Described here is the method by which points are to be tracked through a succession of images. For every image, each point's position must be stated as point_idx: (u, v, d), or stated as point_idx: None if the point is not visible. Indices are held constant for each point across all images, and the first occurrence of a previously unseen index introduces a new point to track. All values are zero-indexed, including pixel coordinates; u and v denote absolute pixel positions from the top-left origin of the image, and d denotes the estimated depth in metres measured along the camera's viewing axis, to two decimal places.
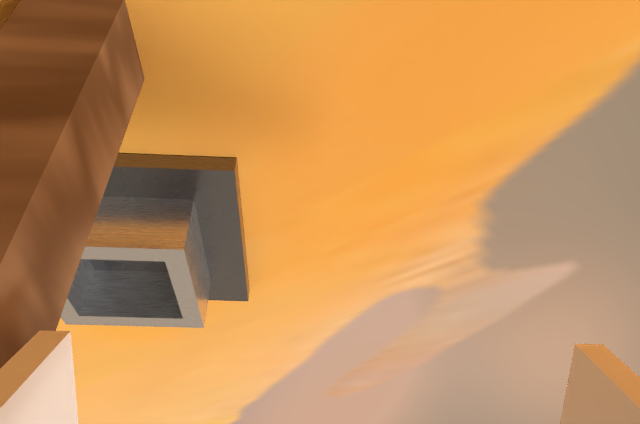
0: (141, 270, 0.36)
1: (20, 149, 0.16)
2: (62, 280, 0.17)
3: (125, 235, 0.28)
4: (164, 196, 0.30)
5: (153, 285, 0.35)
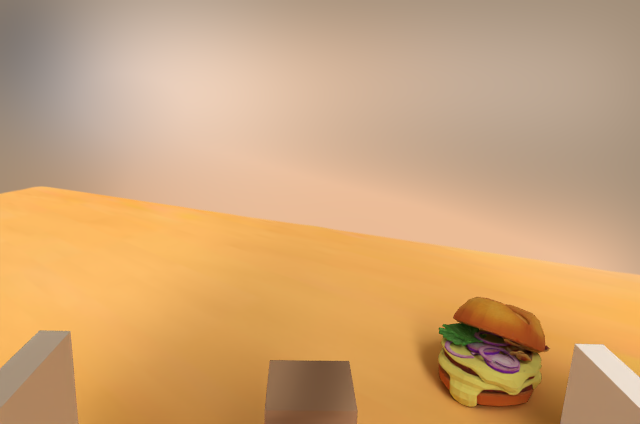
0: None
1: None
2: None
3: None
4: None
5: None
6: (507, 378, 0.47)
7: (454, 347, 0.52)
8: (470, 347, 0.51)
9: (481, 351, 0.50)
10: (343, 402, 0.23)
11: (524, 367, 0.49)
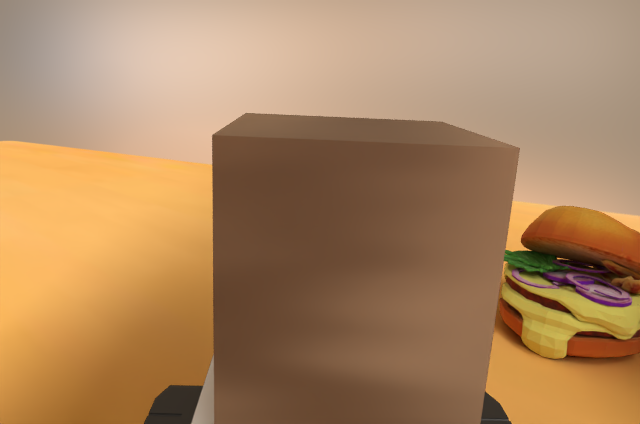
0: None
1: None
2: None
3: None
4: None
5: None
6: (616, 313, 0.31)
7: (525, 276, 0.36)
8: (551, 275, 0.35)
9: (570, 278, 0.34)
10: (463, 141, 0.07)
11: (636, 300, 0.33)
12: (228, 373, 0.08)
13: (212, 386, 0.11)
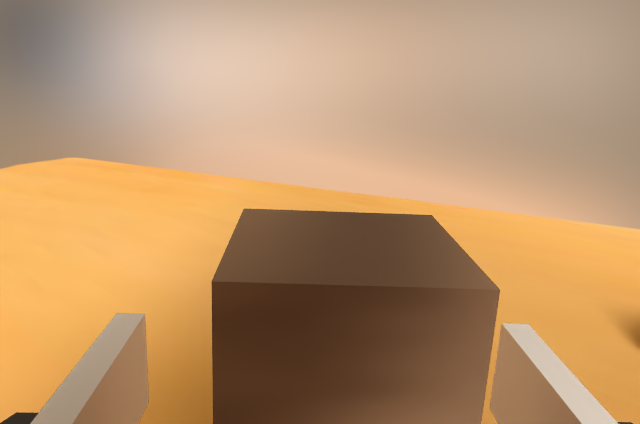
0: None
1: None
2: None
3: None
4: None
5: None
6: None
7: None
8: None
9: None
10: (448, 273, 0.08)
11: None
12: None
13: (46, 417, 0.10)
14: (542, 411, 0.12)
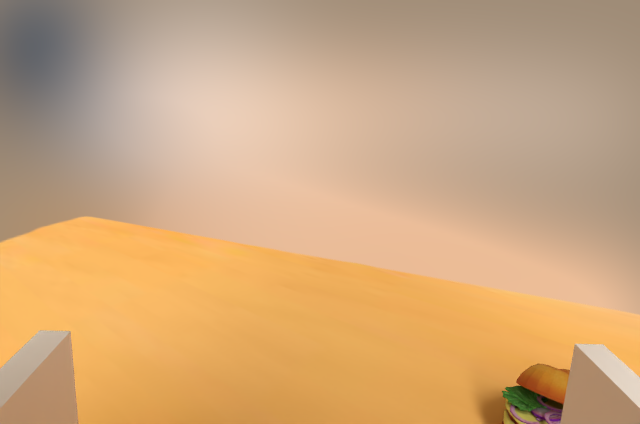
0: None
1: None
2: None
3: None
4: None
5: None
6: None
7: (519, 412, 0.55)
8: (535, 413, 0.55)
9: (547, 418, 0.53)
10: None
11: None
12: None
13: None
14: None
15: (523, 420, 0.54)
